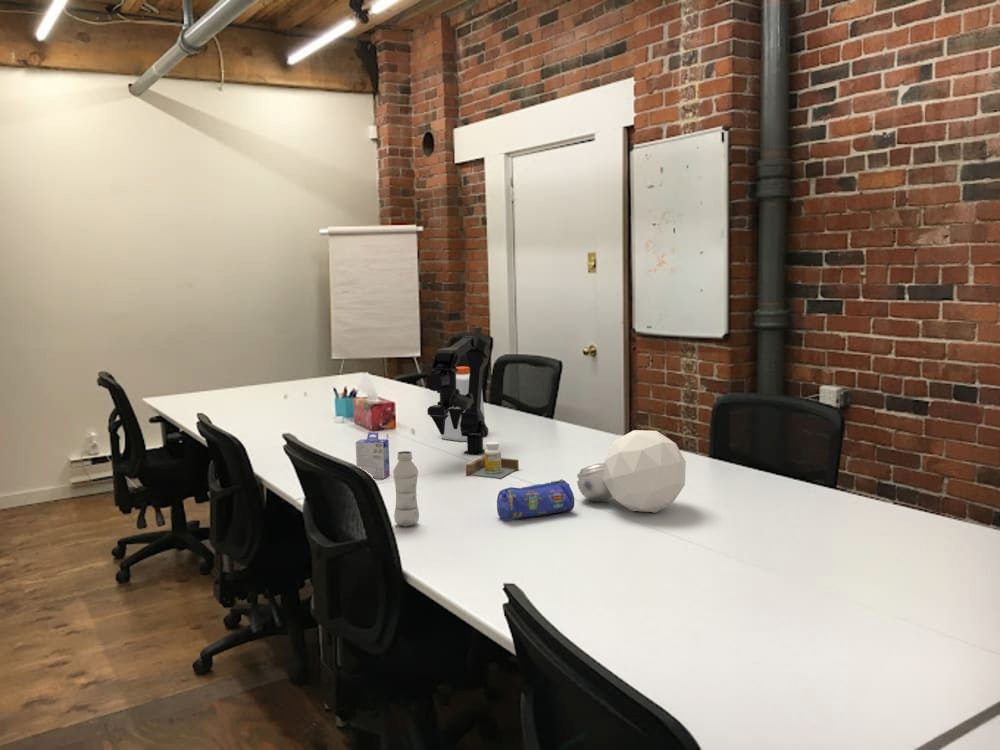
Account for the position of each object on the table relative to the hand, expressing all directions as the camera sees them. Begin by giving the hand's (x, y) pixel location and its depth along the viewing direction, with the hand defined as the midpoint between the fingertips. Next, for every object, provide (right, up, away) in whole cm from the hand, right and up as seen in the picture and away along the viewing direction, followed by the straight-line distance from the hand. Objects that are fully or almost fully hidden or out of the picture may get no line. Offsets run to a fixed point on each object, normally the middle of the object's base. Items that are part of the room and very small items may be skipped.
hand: (449, 431), depth 290 cm
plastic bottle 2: (+3, -6, +47) cm, 47 cm away
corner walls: (+15, -13, -9) cm, 22 cm away
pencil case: (+27, -20, -54) cm, 64 cm away
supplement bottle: (+15, -13, -8) cm, 21 cm away
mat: (+15, -13, -9) cm, 22 cm away
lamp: (+54, -18, -48) cm, 74 cm away
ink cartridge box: (-24, -14, -10) cm, 30 cm away
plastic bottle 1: (-8, -21, -60) cm, 64 cm away
